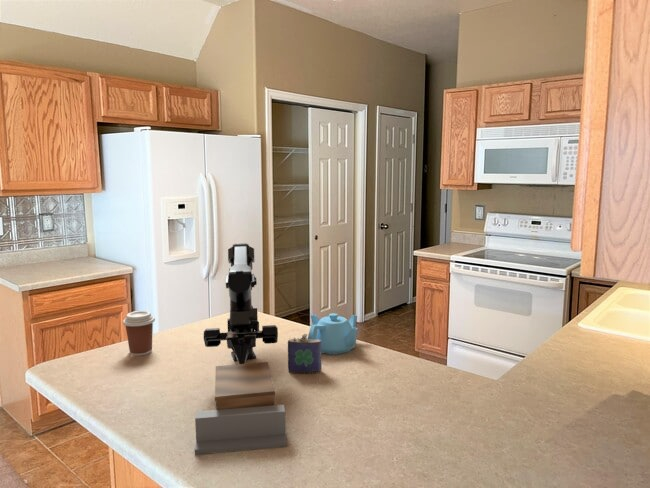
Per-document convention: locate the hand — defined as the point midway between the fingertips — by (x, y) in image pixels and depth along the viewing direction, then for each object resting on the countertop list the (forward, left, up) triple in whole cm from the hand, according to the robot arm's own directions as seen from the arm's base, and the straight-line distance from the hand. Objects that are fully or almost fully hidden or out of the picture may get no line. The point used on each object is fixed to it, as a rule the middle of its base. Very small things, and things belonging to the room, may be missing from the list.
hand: (241, 367), depth 126 cm
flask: (-6, +18, -6) cm, 20 cm away
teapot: (-21, +32, -6) cm, 39 cm away
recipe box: (+13, -2, -6) cm, 14 cm away
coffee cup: (-37, -25, -6) cm, 45 cm away
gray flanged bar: (+24, -4, -6) cm, 25 cm away
